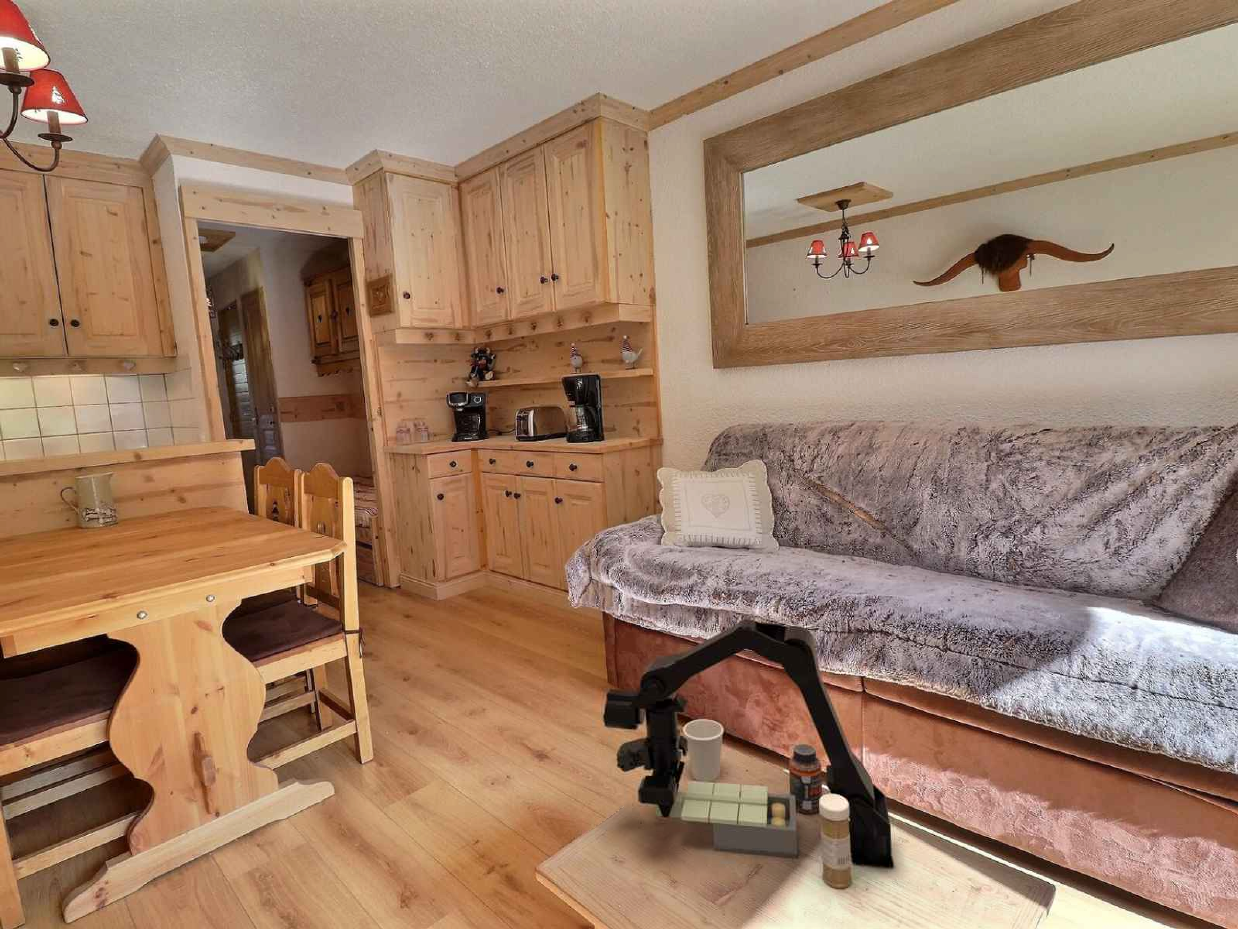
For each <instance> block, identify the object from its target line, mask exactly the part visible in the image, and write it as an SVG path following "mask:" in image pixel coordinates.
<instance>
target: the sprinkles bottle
mask: <svg viewBox="0 0 1238 929" xmlns="http://www.w3.org/2000/svg"><path fill="white" fill-rule="evenodd" d="M818 812H819V814H820V838H821V841H820V842H821V859H822V879H823V880H824V882H825V883H826V884H827V885H828V886H830V887H832V888H835V889H845V888H847V887H849V886H851V884H852V880H853V878H852V872H851V869H852V868H851V864H852V858H851V853H850V833H849V803H848V801H847V800H846V799H845V798H844V797H842V796H840V795H837V794H831V793H826V794H822V797H821V798H820V800H819V811H818Z"/></svg>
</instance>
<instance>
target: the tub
mask: <svg viewBox="0 0 1238 929" xmlns="http://www.w3.org/2000/svg"><path fill="white" fill-rule="evenodd" d="M740 797H741V791H740ZM739 809H740V804H739ZM738 819H739V811H738ZM712 828H713V830H712V831H713V844H714V845H713V846H714V848H713V849H714V851H718V852H719V851H720V852H729V853H739V854H748V855H758V856H766V857H767V856H768V857H778V858H779V857H780V858H789V859H798V856H799V855H798V833H797V832H798V831H797V830H798V829H797V810H796V804H795V795H790V794H783V793H769V792H768V801H767V828H765V827H754V826H743V825H739V823H738V821H737V825H732V824H721V823H712Z"/></svg>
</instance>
